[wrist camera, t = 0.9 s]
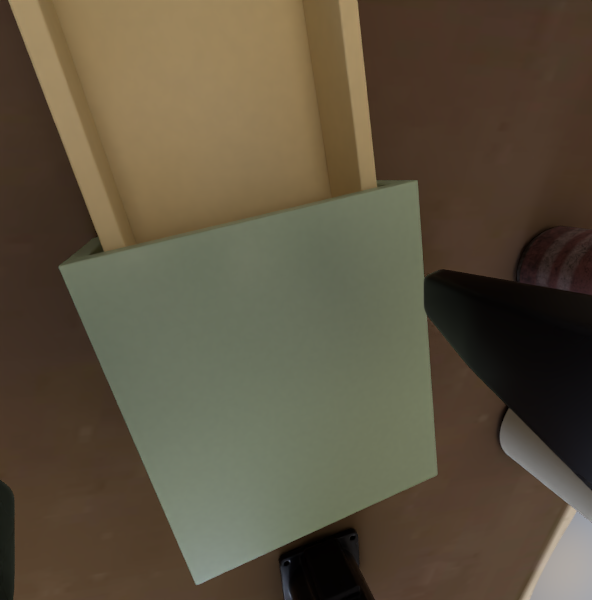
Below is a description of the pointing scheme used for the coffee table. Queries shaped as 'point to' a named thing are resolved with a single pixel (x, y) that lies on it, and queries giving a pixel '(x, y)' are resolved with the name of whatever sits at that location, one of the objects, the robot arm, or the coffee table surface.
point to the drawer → (202, 107)
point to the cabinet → (269, 367)
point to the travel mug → (544, 464)
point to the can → (559, 260)
